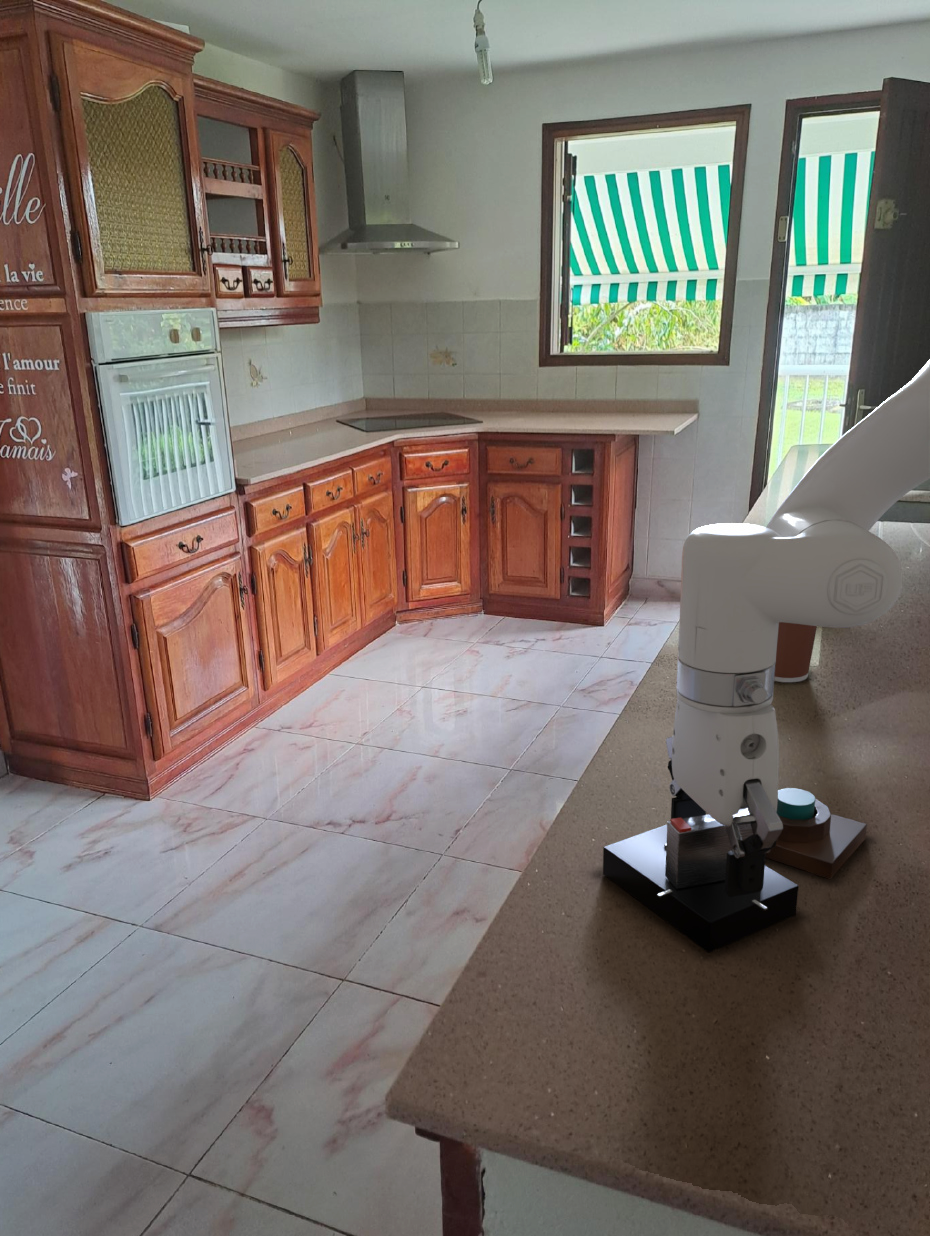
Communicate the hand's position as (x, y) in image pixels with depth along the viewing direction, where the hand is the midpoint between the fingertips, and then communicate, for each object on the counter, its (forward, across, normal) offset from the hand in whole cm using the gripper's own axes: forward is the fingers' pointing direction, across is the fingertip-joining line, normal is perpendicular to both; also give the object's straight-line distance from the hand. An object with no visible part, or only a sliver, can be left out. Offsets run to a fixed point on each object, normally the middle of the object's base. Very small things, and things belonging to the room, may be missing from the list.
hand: (713, 862), depth 83 cm
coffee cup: (+5, +48, -37) cm, 61 cm away
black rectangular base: (+4, +2, +1) cm, 5 cm away
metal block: (+1, 0, 0) cm, 1 cm away
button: (+1, +7, -13) cm, 15 cm away
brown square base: (+4, +8, -13) cm, 15 cm away
